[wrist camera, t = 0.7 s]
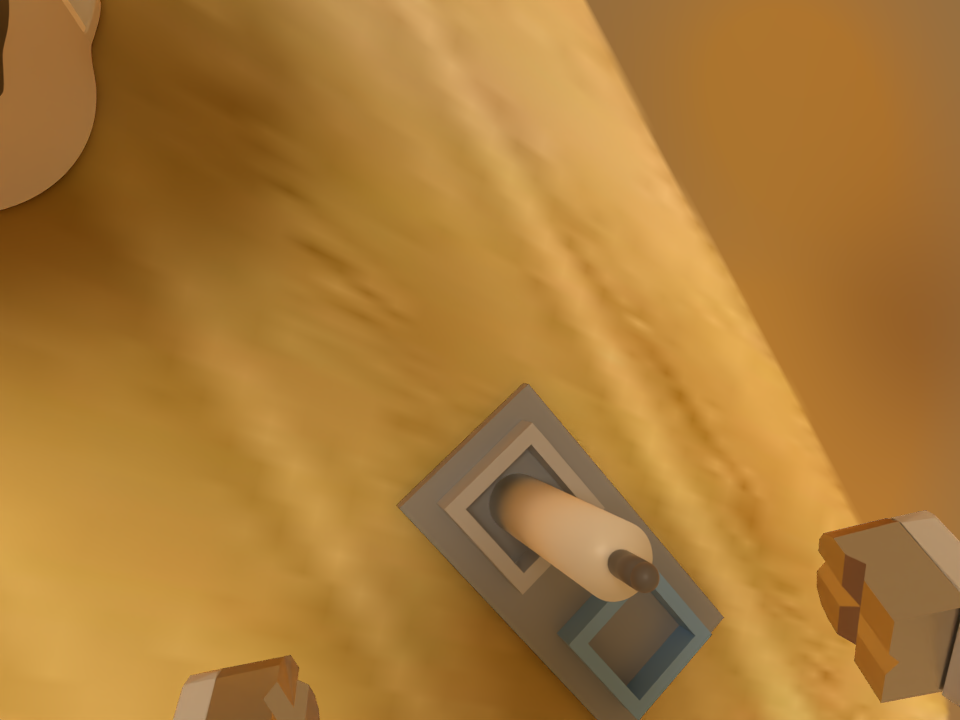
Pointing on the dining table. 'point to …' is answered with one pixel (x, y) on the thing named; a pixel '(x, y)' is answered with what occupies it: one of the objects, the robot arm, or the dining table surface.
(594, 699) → the lever base plate
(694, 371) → the dining table surface
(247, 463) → the dining table surface
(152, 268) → the dining table surface
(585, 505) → the knob-topped cream cylinder
